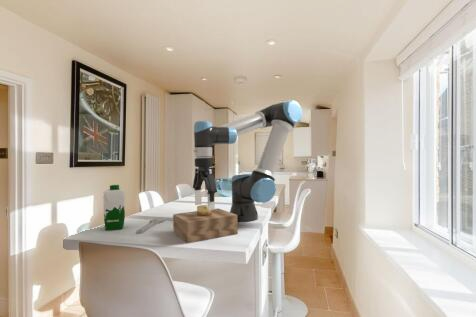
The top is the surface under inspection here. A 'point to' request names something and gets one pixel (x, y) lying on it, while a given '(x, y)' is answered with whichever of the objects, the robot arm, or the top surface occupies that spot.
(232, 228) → the block
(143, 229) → the adjustable wrench
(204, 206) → the pin
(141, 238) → the top surface
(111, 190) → the milk carton
